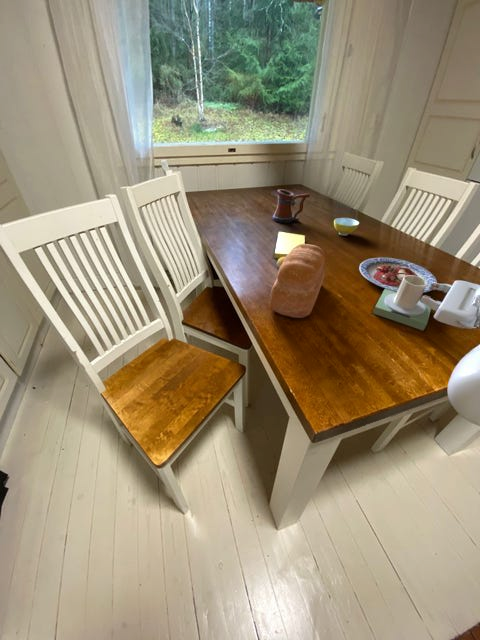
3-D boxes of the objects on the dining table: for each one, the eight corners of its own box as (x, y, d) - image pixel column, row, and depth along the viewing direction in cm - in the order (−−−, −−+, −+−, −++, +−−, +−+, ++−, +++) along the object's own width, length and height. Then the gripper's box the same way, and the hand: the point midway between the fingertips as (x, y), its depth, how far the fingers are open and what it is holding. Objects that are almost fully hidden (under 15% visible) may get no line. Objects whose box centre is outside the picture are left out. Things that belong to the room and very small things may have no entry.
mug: (306, 218, 152) (310, 189, 143) (304, 225, 143) (309, 195, 134) (274, 215, 156) (276, 186, 146) (271, 222, 147) (273, 192, 137)
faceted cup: (417, 302, 83) (428, 279, 78) (414, 311, 80) (426, 288, 74) (395, 295, 86) (405, 273, 81) (391, 304, 82) (401, 281, 77)
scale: (428, 309, 86) (433, 301, 84) (423, 330, 78) (428, 322, 76) (382, 295, 92) (385, 287, 90) (372, 313, 84) (375, 305, 82)
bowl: (329, 229, 139) (331, 217, 135) (351, 230, 139) (355, 217, 135) (334, 238, 130) (337, 225, 126) (358, 238, 130) (362, 225, 126)
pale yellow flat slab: (303, 260, 111) (303, 238, 130) (304, 255, 110) (304, 233, 128) (274, 257, 113) (278, 236, 131) (274, 253, 112) (278, 231, 130)
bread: (265, 312, 84) (269, 267, 74) (288, 273, 103) (293, 234, 93) (308, 323, 80) (318, 278, 70) (324, 281, 98) (334, 241, 89)
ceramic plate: (358, 258, 113) (360, 251, 112) (427, 269, 107) (431, 262, 105) (357, 289, 94) (359, 282, 93) (440, 304, 88) (445, 297, 86)
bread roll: (275, 262, 110) (275, 253, 107) (296, 262, 110) (298, 252, 108) (278, 272, 103) (279, 263, 101) (301, 272, 104) (303, 262, 101)
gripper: (470, 340, 66) (410, 316, 73) (484, 305, 78) (431, 287, 85) (485, 320, 62) (420, 297, 69) (497, 286, 74) (440, 269, 81)
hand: (426, 291), depth 77 cm, fingers open, 8 cm apart
